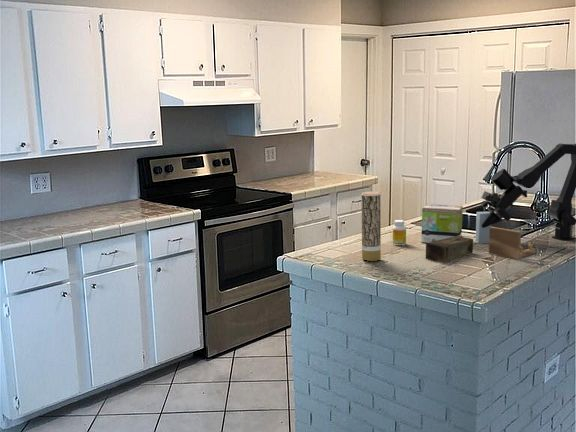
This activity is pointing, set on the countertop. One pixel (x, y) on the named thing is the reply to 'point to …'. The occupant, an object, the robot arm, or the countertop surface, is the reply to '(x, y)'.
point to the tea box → (441, 222)
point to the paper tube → (371, 226)
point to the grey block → (481, 232)
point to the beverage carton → (449, 248)
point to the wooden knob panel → (507, 243)
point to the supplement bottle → (399, 233)
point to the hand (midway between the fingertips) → (480, 225)
